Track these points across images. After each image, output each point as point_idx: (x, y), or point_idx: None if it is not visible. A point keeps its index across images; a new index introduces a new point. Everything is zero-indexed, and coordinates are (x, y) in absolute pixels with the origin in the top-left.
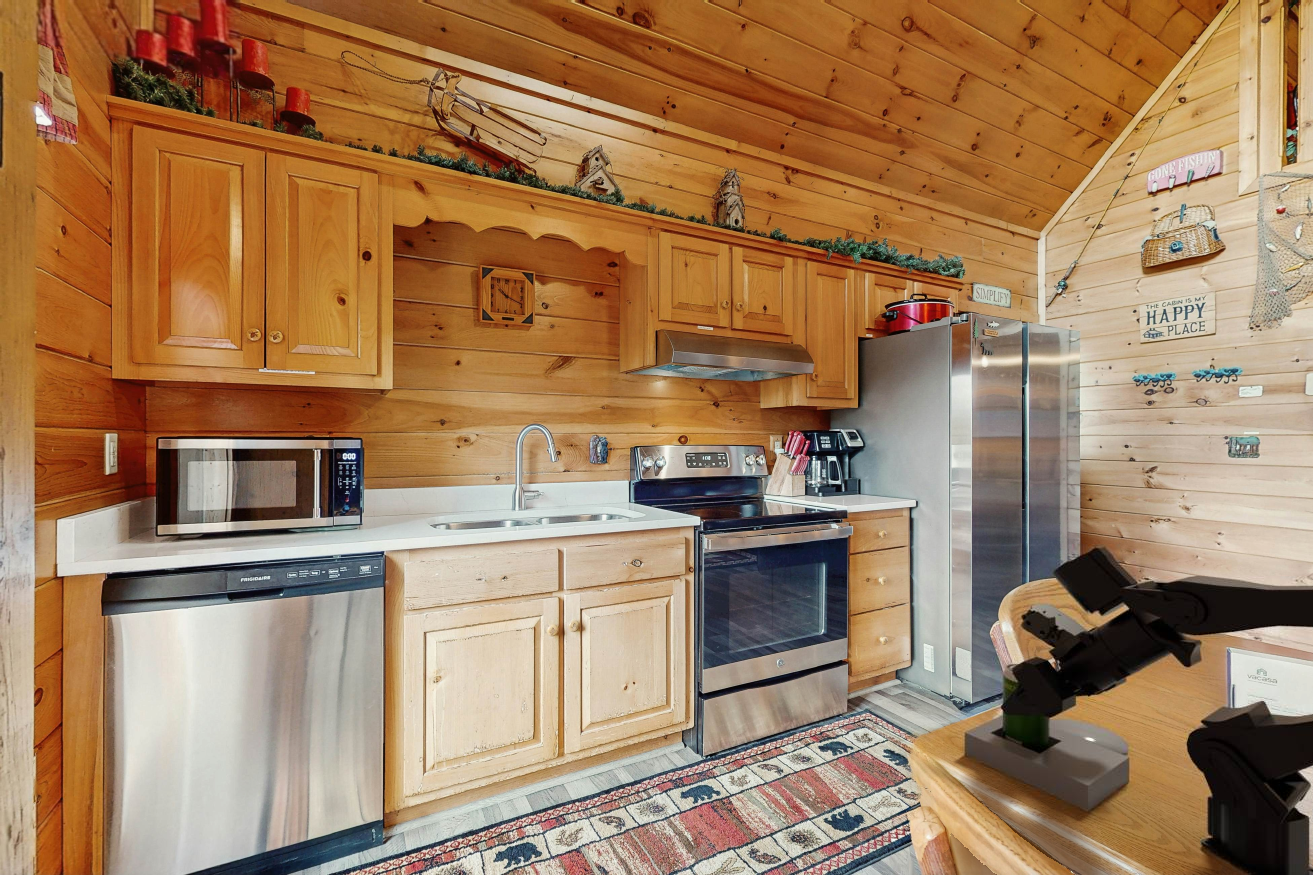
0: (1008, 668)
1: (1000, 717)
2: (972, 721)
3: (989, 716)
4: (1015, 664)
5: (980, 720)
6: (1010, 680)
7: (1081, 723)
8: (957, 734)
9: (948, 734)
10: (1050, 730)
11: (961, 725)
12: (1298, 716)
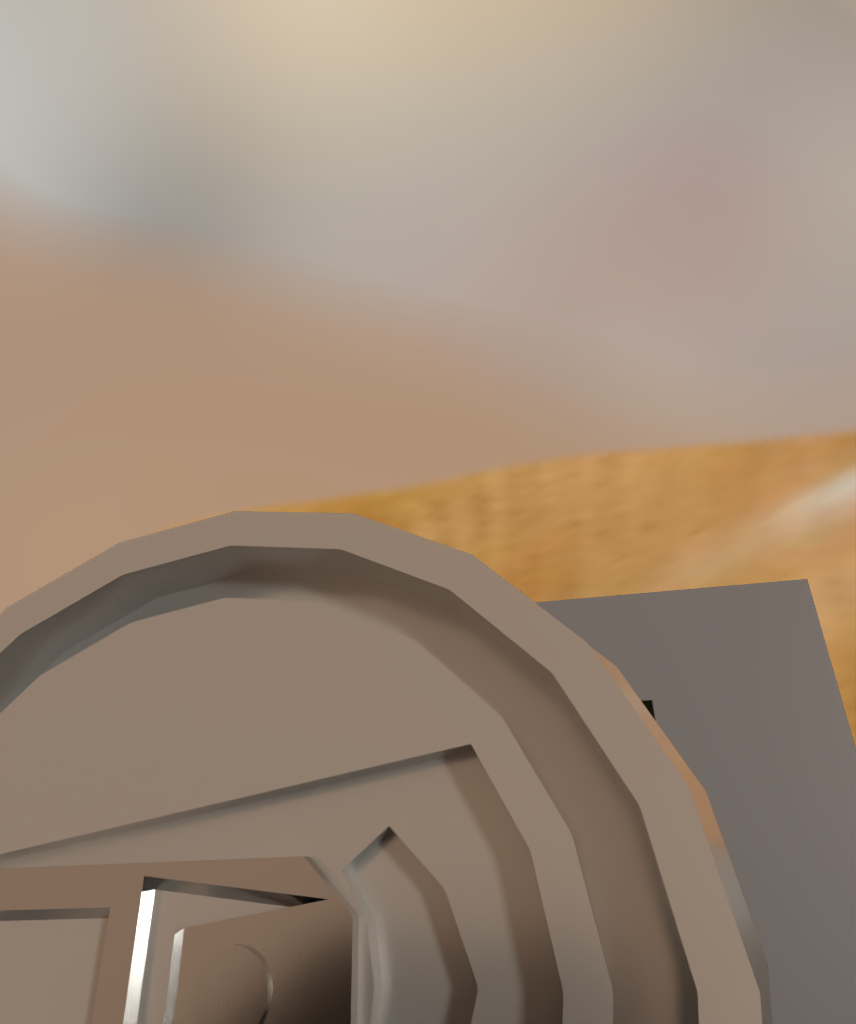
0: (233, 586)
1: (630, 607)
2: (667, 450)
3: (851, 446)
4: (423, 584)
5: (732, 459)
6: None
7: None
8: (427, 516)
9: (383, 498)
10: (842, 988)
11: (553, 459)
12: None
